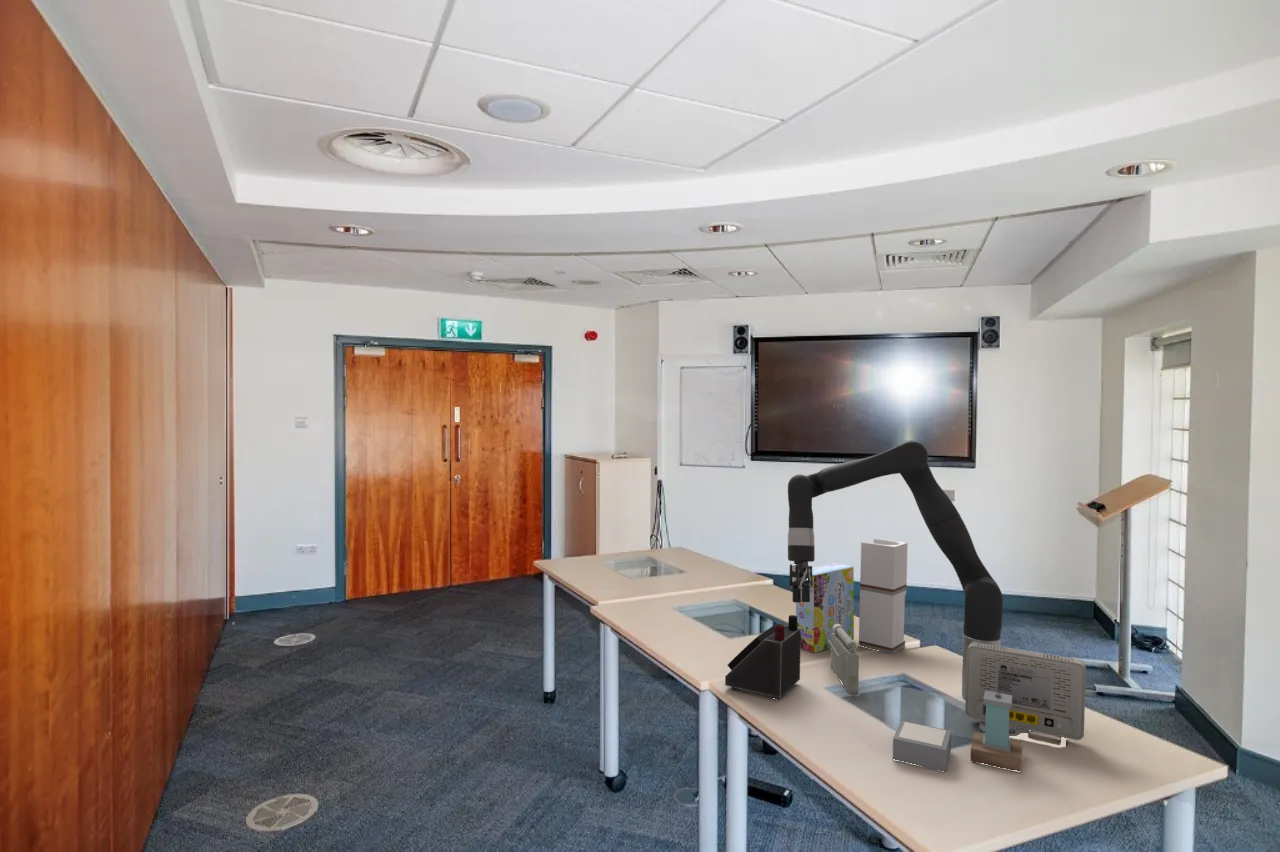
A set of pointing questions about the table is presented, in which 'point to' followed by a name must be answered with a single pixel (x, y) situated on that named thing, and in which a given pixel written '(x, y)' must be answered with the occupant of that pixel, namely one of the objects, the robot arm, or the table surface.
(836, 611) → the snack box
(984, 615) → the robot arm
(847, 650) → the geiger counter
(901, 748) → the grey plinth
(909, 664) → the table surface
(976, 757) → the walnut block
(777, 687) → the voltmeter
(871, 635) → the tall open-top box
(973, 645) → the network device
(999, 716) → the housing
